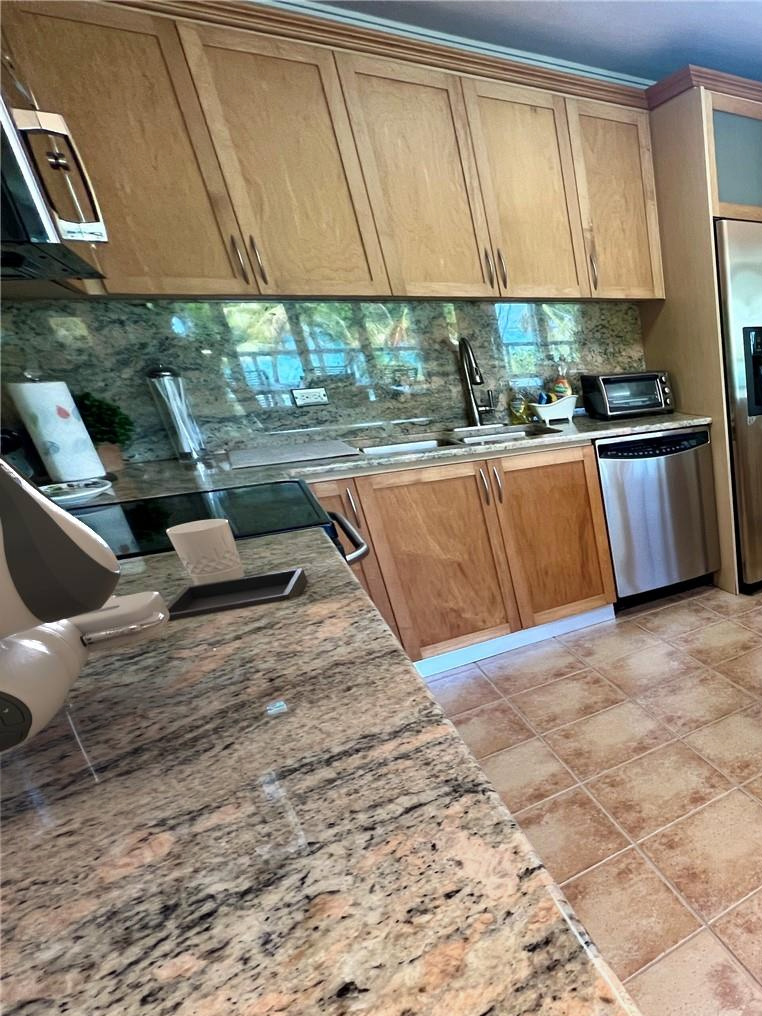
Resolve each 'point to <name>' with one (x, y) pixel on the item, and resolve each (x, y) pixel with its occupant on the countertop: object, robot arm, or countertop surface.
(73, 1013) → the countertop surface
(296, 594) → the tray
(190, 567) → the white cup
